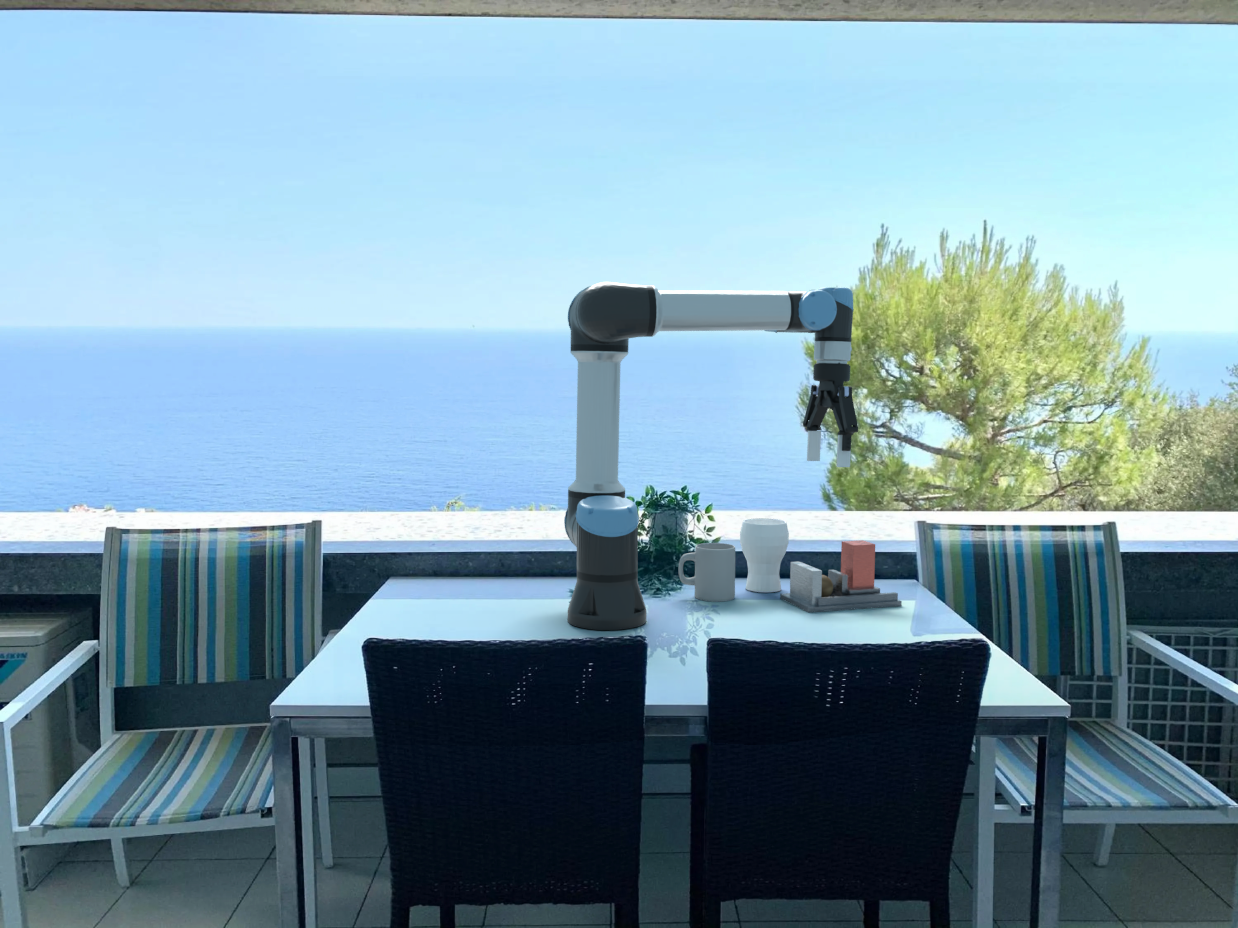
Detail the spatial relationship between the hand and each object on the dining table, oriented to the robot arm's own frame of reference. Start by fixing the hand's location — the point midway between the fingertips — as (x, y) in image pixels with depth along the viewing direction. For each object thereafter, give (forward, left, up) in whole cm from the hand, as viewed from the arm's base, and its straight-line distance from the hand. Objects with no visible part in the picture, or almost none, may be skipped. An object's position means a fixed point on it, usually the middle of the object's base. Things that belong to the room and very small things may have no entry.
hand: (827, 464), depth 216 cm
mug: (-25, +6, -29) cm, 38 cm away
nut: (-4, -6, -28) cm, 29 cm away
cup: (-10, +10, -29) cm, 32 cm away
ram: (+3, -6, -27) cm, 28 cm away
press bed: (0, -6, -28) cm, 29 cm away
